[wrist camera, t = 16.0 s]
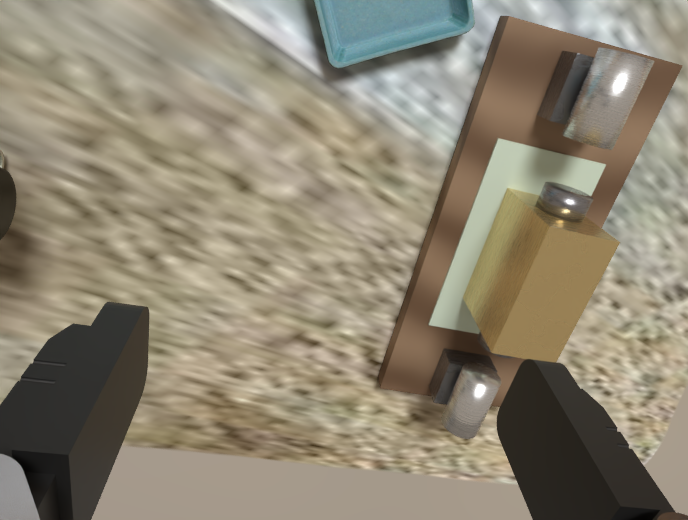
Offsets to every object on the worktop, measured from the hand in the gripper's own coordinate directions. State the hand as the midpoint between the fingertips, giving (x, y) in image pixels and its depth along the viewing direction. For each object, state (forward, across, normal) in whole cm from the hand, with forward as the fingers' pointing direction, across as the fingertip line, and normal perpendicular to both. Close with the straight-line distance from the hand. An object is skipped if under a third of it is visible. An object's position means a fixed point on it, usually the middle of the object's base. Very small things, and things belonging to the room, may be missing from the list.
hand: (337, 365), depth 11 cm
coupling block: (+24, -16, +7) cm, 29 cm away
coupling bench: (+25, -16, +7) cm, 31 cm away
